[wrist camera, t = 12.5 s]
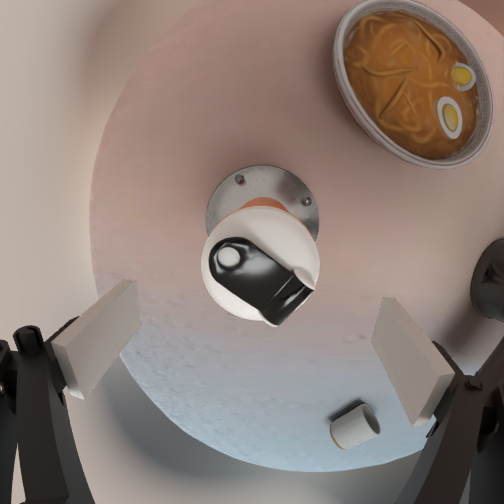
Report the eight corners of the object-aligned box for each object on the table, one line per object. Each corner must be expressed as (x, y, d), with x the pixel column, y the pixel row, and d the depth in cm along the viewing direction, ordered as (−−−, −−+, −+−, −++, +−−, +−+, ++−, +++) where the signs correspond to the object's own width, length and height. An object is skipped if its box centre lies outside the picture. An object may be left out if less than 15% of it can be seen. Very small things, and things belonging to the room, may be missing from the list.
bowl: (476, 122, 31) (515, 118, 22) (386, 198, 36) (420, 209, 27) (392, 7, 27) (417, -21, 18) (284, 67, 32) (289, 37, 23)
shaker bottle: (251, 176, 36) (233, 186, 17) (310, 212, 37) (353, 261, 18) (217, 234, 38) (170, 301, 19) (274, 267, 39) (279, 358, 20)
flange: (287, 146, 35) (288, 146, 35) (334, 246, 39) (336, 248, 38) (188, 198, 38) (186, 198, 37) (239, 290, 41) (238, 293, 41)
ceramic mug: (324, 418, 49) (330, 447, 41) (358, 397, 47) (368, 426, 39) (351, 435, 51) (357, 461, 43) (382, 416, 49) (391, 442, 41)
